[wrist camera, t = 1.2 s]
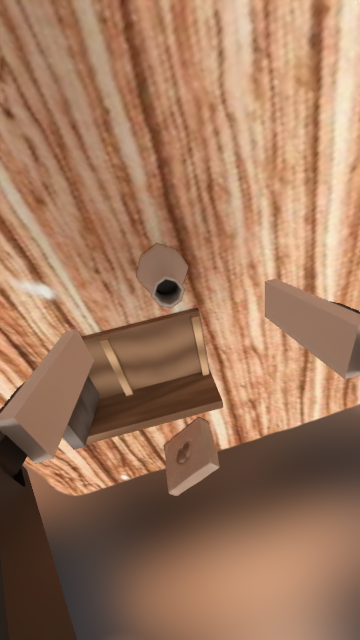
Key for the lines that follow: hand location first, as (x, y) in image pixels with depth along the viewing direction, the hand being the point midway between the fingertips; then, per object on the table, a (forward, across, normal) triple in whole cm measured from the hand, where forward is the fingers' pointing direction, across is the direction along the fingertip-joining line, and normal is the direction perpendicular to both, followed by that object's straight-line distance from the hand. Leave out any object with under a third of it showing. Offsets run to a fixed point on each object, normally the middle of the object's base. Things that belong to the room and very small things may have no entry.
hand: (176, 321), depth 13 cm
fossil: (+16, -4, -38) cm, 41 cm away
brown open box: (+16, -7, -14) cm, 22 cm away
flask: (+16, 0, 0) cm, 16 cm away
